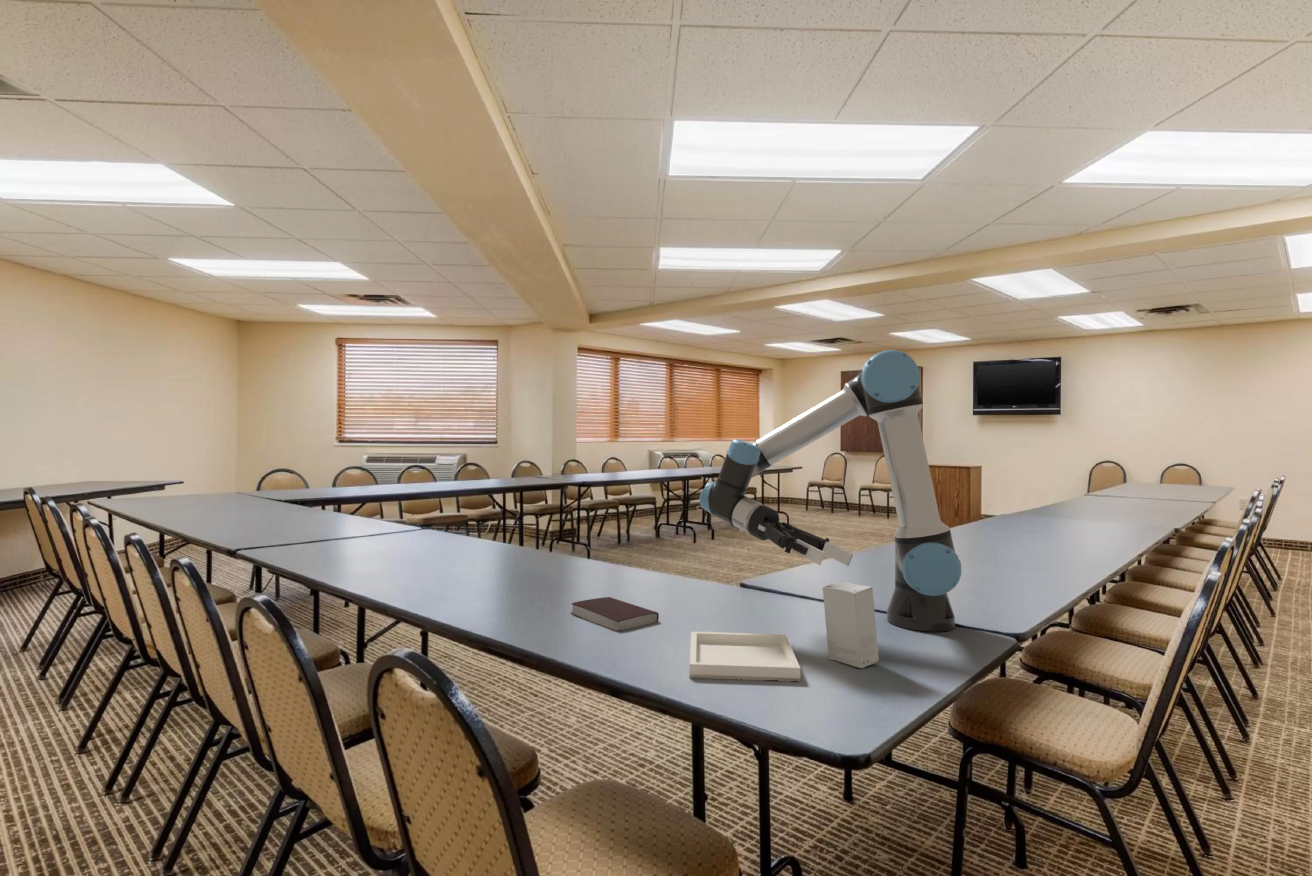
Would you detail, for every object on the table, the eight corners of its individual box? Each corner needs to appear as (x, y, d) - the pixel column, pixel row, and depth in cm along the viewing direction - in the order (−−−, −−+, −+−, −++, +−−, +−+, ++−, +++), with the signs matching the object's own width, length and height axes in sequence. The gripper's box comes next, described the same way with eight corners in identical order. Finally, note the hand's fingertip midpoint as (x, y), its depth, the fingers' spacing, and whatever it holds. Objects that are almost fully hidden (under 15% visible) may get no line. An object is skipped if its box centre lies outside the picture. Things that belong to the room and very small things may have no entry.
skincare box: (879, 662, 124) (876, 586, 124) (859, 670, 120) (856, 592, 120) (844, 651, 131) (841, 579, 131) (824, 658, 127) (821, 584, 127)
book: (610, 607, 166) (610, 595, 166) (659, 623, 152) (659, 610, 152) (570, 615, 158) (570, 602, 158) (617, 633, 144) (617, 619, 144)
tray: (785, 646, 134) (785, 634, 134) (800, 681, 115) (800, 668, 115) (690, 643, 136) (691, 631, 136) (689, 677, 116) (689, 664, 116)
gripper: (777, 536, 156) (854, 575, 142) (720, 531, 138) (802, 576, 124) (788, 508, 156) (866, 545, 142) (732, 499, 137) (815, 540, 123)
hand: (836, 559), depth 133 cm, fingers open, 13 cm apart
